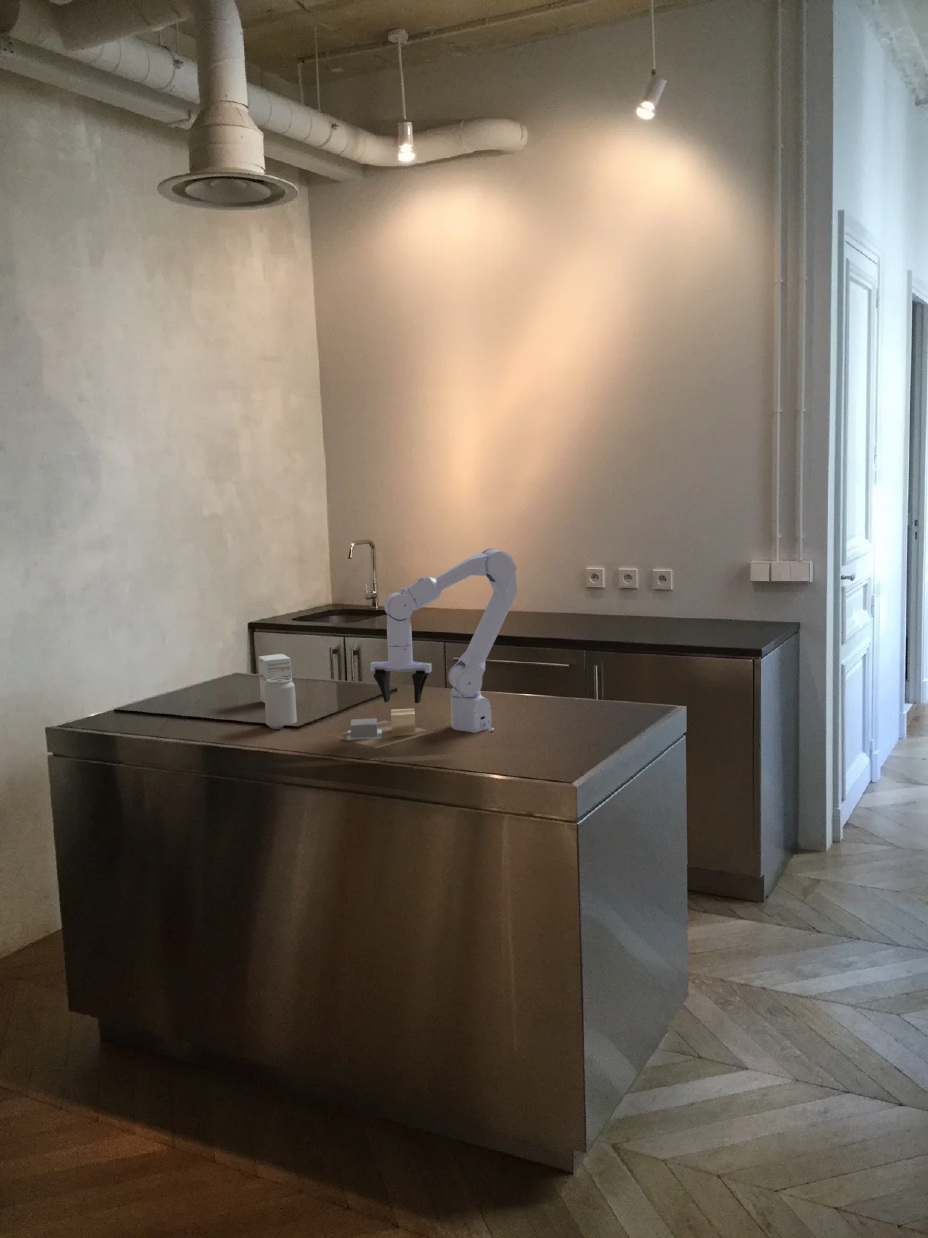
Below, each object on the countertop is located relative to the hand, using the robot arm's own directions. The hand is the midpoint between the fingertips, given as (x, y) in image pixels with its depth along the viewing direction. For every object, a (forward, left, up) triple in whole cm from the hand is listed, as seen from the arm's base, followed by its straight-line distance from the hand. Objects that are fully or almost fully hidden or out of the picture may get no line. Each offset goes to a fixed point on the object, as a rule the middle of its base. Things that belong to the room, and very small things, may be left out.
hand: (402, 701), depth 258 cm
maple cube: (0, 0, -7) cm, 7 cm away
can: (+32, +12, -9) cm, 35 cm away
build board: (+3, +4, -8) cm, 10 cm away
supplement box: (+55, -3, -9) cm, 56 cm away
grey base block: (+6, +7, -7) cm, 12 cm away
